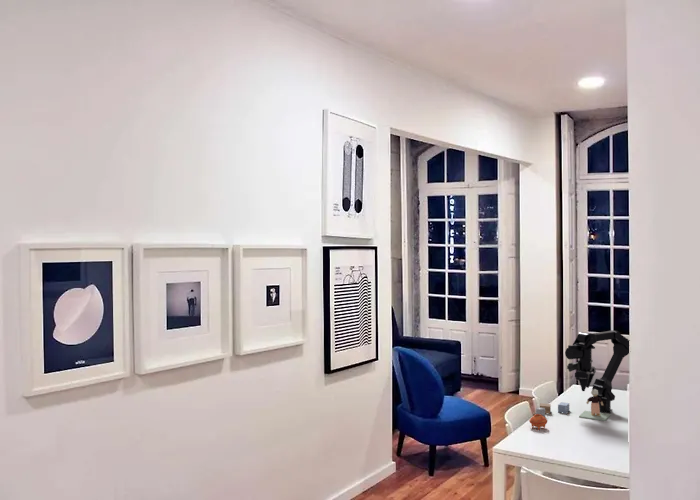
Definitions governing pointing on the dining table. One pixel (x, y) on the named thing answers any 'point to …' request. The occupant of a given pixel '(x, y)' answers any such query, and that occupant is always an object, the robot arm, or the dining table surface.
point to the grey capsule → (540, 411)
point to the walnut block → (546, 407)
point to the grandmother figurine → (595, 403)
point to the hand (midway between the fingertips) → (585, 389)
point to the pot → (538, 421)
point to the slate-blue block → (563, 407)
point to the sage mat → (588, 415)
